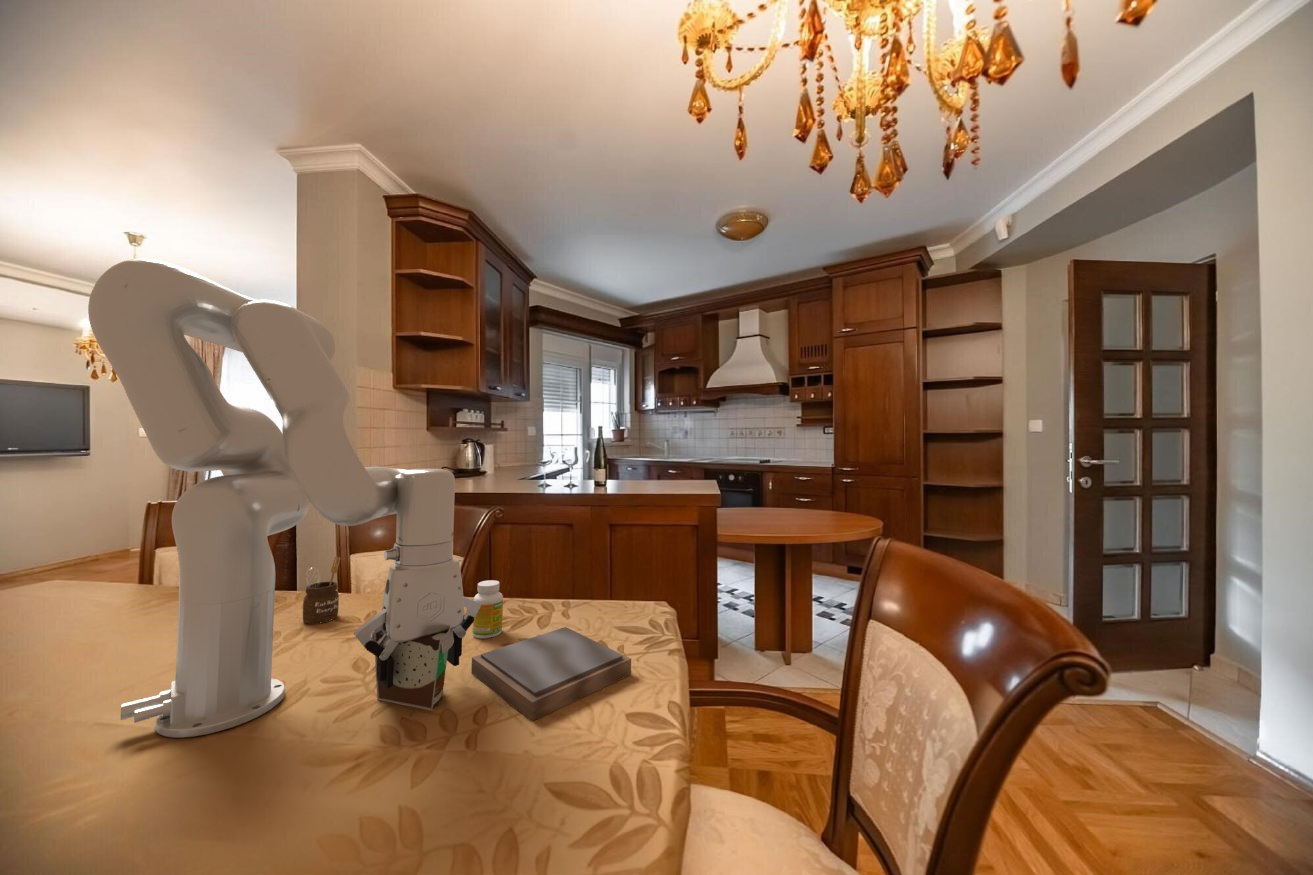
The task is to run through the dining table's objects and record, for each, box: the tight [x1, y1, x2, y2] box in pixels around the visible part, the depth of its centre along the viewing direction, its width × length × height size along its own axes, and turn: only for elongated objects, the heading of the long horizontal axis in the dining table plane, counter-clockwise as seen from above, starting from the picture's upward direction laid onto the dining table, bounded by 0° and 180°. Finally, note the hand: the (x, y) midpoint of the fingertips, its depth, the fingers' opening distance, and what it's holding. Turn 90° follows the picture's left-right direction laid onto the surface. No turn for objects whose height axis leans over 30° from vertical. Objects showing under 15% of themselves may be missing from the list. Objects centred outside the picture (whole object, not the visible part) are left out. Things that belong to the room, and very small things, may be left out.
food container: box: [371, 626, 454, 711], centre depth 67 cm, size 12×6×10 cm, turn 75°
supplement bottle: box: [471, 579, 504, 640], centre depth 88 cm, size 5×5×10 cm
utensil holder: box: [302, 556, 341, 625], centre depth 94 cm, size 6×6×12 cm
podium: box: [470, 626, 632, 722], centre depth 73 cm, size 18×18×3 cm
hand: (421, 672), depth 66 cm, fingers open, 8 cm apart
